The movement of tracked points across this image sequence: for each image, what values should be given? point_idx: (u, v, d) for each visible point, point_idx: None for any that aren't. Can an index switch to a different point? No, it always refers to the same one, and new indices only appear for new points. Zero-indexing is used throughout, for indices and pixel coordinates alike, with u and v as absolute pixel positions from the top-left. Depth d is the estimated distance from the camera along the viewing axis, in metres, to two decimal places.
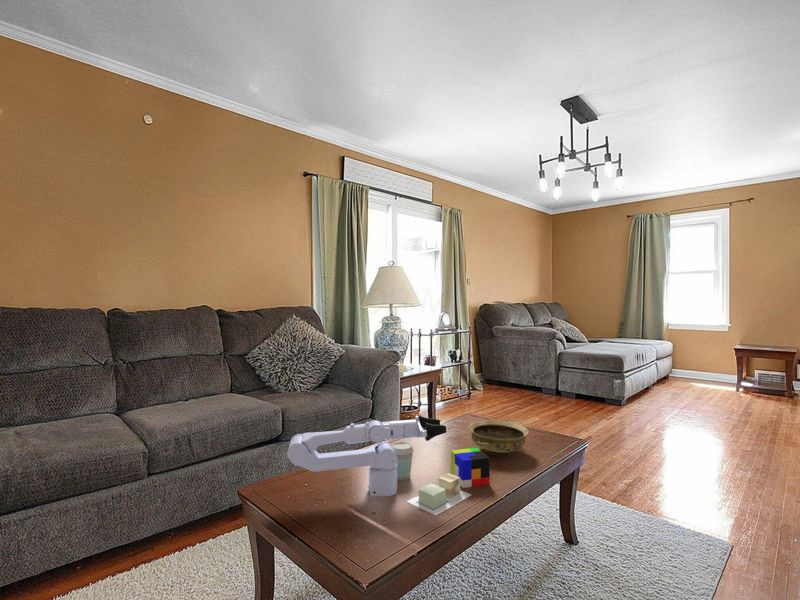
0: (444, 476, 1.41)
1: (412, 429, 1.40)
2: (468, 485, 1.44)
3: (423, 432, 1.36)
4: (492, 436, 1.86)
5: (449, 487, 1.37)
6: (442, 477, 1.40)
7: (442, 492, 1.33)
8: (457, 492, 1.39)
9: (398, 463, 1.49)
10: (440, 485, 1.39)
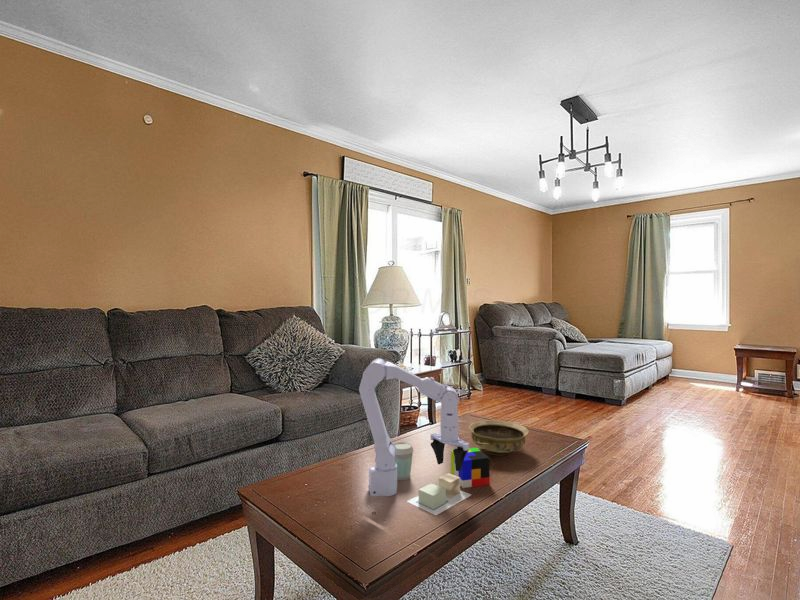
0: (444, 476, 1.41)
1: (457, 434, 1.38)
2: (468, 485, 1.44)
3: (468, 446, 1.35)
4: (492, 436, 1.86)
5: (449, 487, 1.37)
6: (442, 477, 1.40)
7: (442, 492, 1.33)
8: (457, 492, 1.39)
9: (398, 463, 1.49)
10: (440, 485, 1.39)
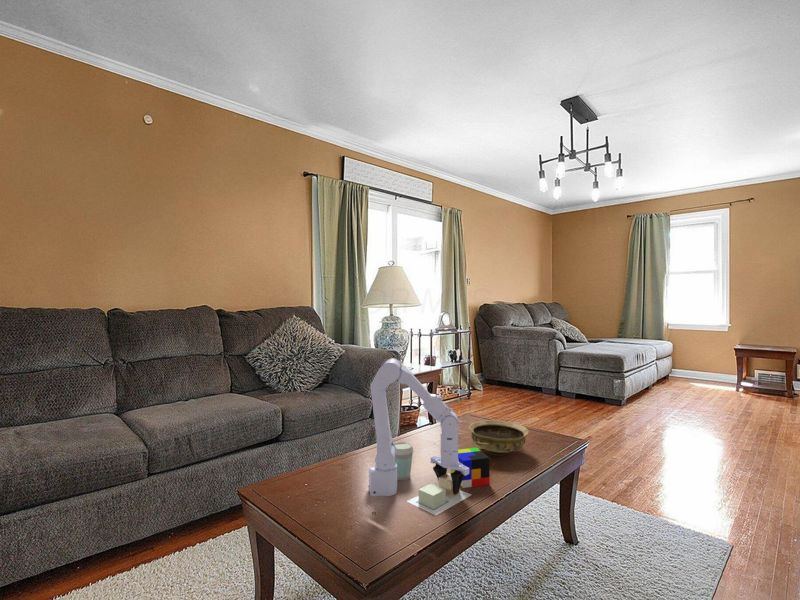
0: (444, 476, 1.41)
1: (457, 459, 1.38)
2: (468, 485, 1.44)
3: (468, 470, 1.35)
4: (492, 436, 1.86)
5: (449, 487, 1.37)
6: (442, 477, 1.40)
7: (442, 492, 1.33)
8: None
9: (398, 463, 1.49)
10: (440, 485, 1.39)
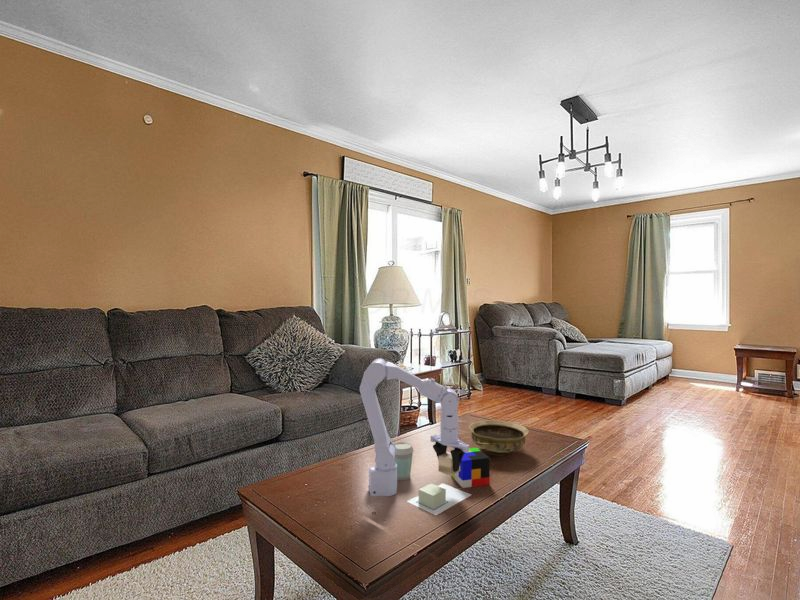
0: (444, 454, 1.41)
1: (457, 436, 1.38)
2: (468, 485, 1.44)
3: (468, 448, 1.35)
4: (492, 436, 1.86)
5: (449, 465, 1.37)
6: (442, 455, 1.40)
7: (442, 492, 1.33)
8: None
9: (398, 463, 1.49)
10: (440, 463, 1.39)
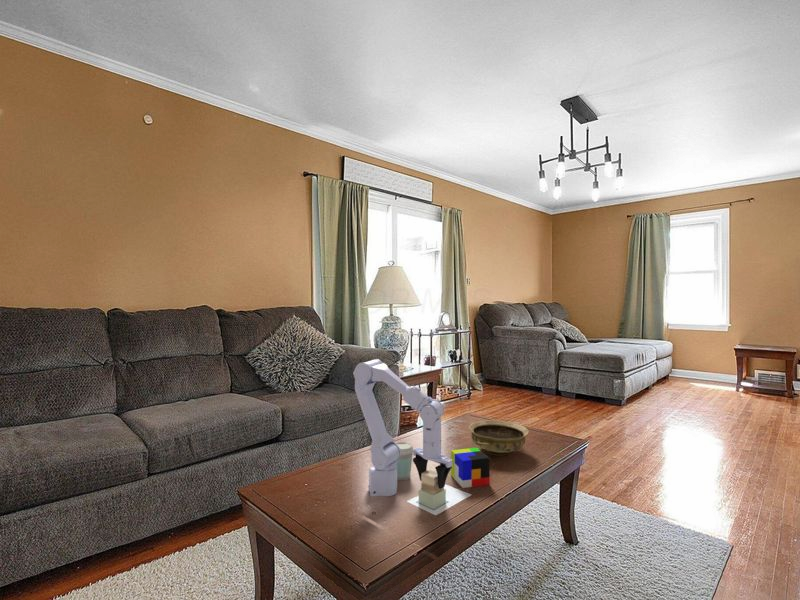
0: (428, 471, 1.35)
1: (440, 450, 1.32)
2: (468, 485, 1.44)
3: (451, 462, 1.29)
4: (492, 436, 1.86)
5: (432, 483, 1.31)
6: (425, 473, 1.34)
7: (443, 492, 1.33)
8: (441, 488, 1.33)
9: (398, 463, 1.49)
10: (423, 481, 1.33)
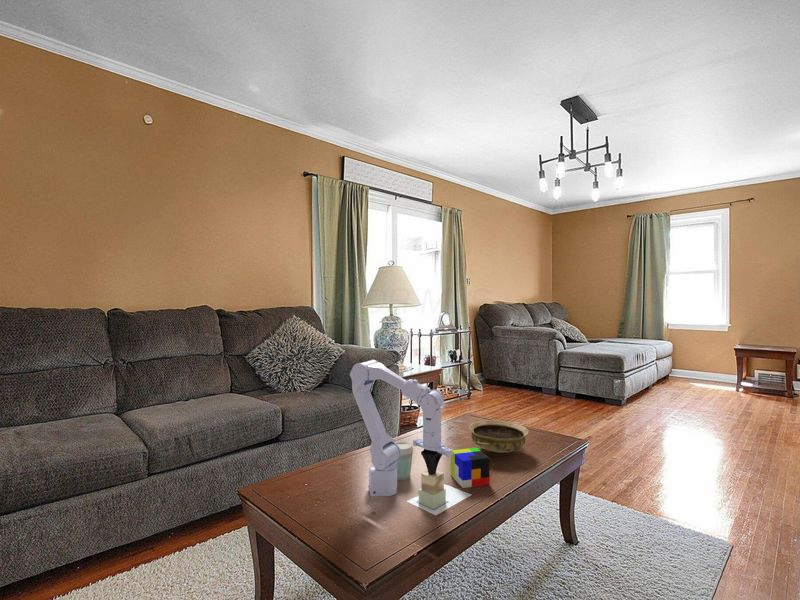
0: None
1: (440, 440, 1.32)
2: (468, 485, 1.44)
3: (451, 452, 1.29)
4: (492, 436, 1.86)
5: (432, 483, 1.31)
6: (425, 473, 1.34)
7: (443, 492, 1.33)
8: (441, 488, 1.33)
9: (398, 463, 1.49)
10: (423, 481, 1.33)
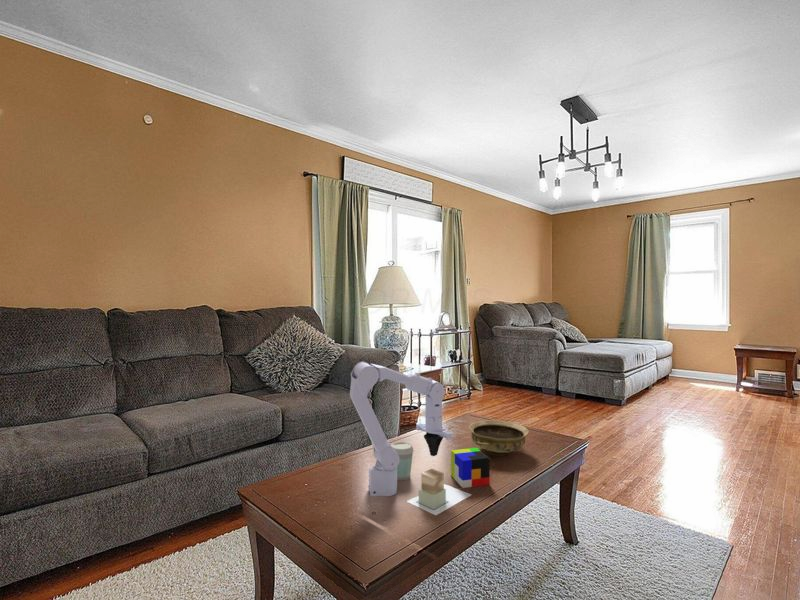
0: (428, 471, 1.35)
1: (441, 424, 1.45)
2: (468, 485, 1.44)
3: (451, 435, 1.42)
4: (492, 436, 1.86)
5: (432, 483, 1.31)
6: (425, 473, 1.34)
7: (443, 492, 1.33)
8: (441, 488, 1.33)
9: None
10: (423, 481, 1.33)
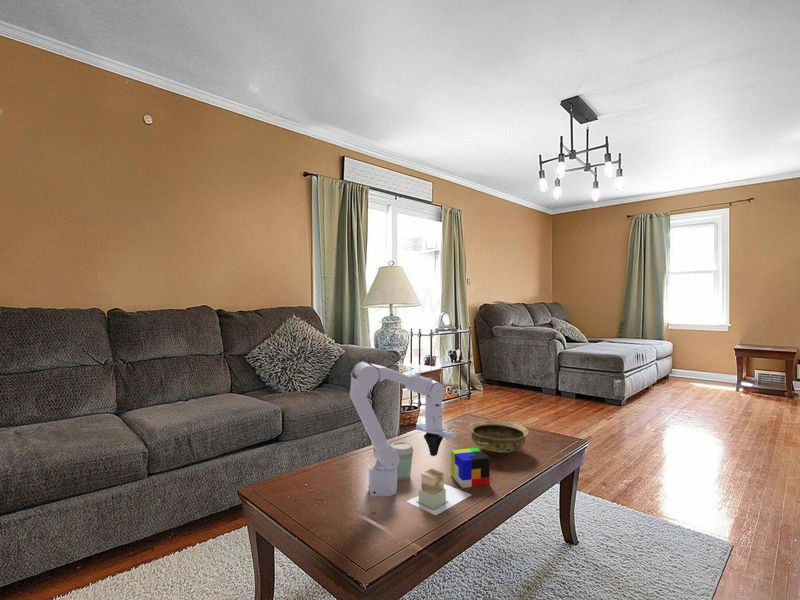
0: (428, 471, 1.35)
1: (441, 424, 1.45)
2: (468, 485, 1.44)
3: (451, 435, 1.42)
4: (492, 436, 1.86)
5: (432, 483, 1.31)
6: (425, 473, 1.34)
7: (443, 492, 1.33)
8: (441, 488, 1.33)
9: None
10: (423, 481, 1.33)
